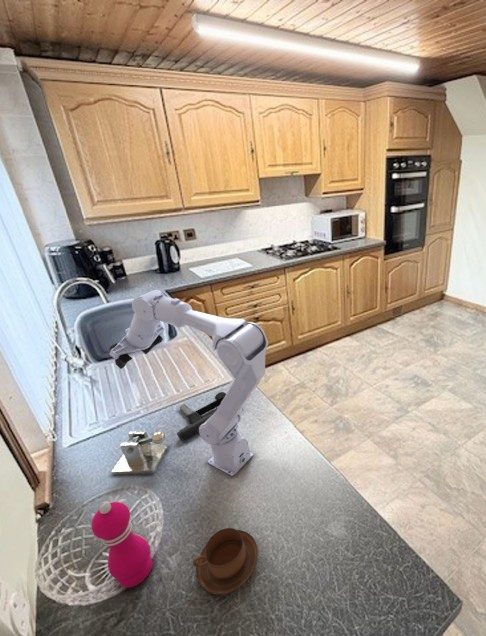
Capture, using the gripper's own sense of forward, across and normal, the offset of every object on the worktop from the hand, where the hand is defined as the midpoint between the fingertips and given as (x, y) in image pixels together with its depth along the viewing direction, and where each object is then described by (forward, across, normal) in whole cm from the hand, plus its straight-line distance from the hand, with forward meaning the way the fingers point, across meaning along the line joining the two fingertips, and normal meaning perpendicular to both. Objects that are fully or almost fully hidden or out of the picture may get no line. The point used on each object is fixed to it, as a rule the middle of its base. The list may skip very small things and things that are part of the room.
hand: (132, 358), depth 94 cm
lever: (+11, +8, +19) cm, 24 cm away
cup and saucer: (-7, +22, +52) cm, 56 cm away
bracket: (+18, +10, +20) cm, 29 cm away
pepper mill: (+4, +30, +38) cm, 49 cm away
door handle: (+16, -11, +23) cm, 30 cm away
